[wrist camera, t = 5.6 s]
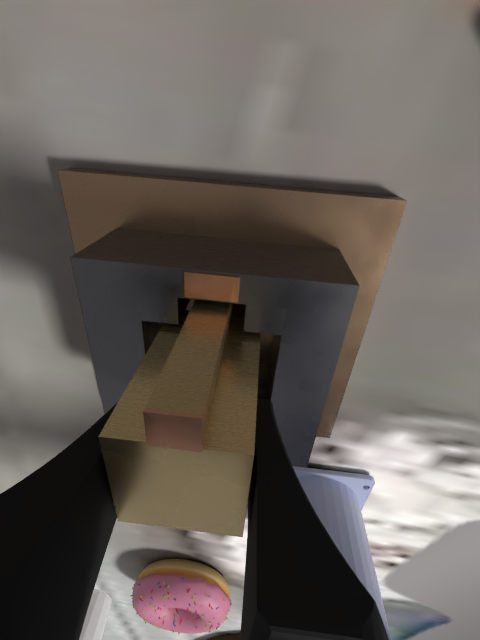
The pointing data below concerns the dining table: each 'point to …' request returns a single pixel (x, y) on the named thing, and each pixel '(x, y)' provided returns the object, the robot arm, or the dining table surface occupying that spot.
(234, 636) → the wooden plate with food
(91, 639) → the shot glass
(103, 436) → the keyed shaft
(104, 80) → the dining table surface
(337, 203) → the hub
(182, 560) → the doughnut
